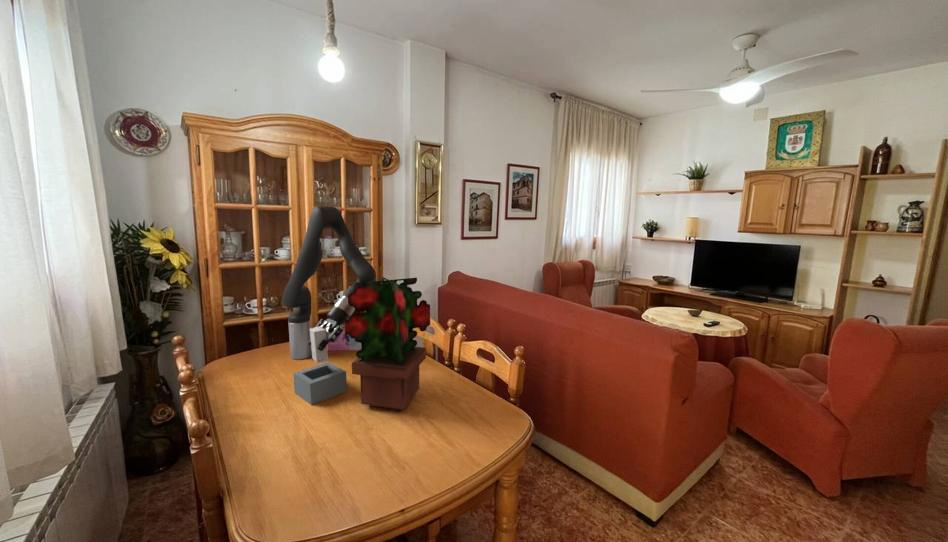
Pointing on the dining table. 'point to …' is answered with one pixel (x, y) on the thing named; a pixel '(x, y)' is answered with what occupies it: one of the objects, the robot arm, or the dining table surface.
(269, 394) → the dining table surface
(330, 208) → the robot arm
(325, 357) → the skincare box
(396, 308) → the potted plant
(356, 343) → the gum box
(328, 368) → the drop box
